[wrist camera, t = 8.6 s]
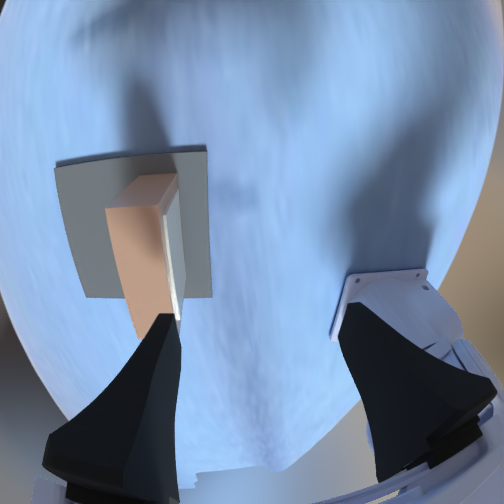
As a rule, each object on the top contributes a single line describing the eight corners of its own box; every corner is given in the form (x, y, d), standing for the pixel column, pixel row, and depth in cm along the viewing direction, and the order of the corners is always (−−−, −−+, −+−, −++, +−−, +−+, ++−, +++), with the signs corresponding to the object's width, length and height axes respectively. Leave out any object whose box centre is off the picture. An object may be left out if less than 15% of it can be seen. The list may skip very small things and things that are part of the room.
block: (179, 172, 16) (161, 204, 11) (188, 279, 20) (181, 339, 15) (139, 175, 16) (104, 208, 11) (154, 280, 20) (138, 338, 15)
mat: (207, 150, 16) (206, 151, 16) (212, 294, 21) (212, 297, 21) (56, 167, 15) (54, 168, 14) (87, 294, 20) (86, 297, 20)
